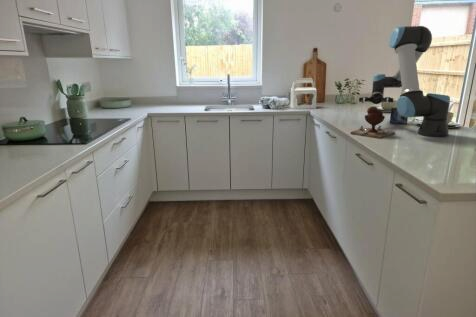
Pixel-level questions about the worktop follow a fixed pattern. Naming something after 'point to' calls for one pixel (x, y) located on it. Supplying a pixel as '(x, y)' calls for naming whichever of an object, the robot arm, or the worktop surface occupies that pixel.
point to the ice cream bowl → (374, 118)
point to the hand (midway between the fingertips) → (375, 101)
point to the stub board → (365, 132)
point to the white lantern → (303, 90)
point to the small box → (397, 117)
